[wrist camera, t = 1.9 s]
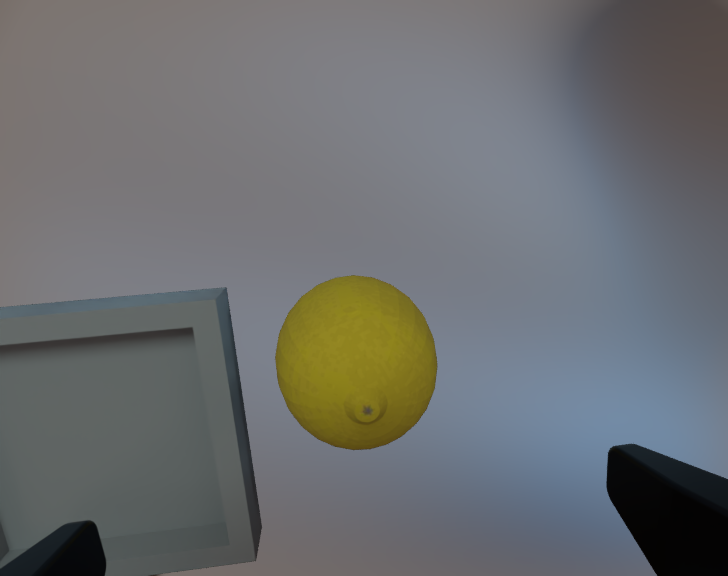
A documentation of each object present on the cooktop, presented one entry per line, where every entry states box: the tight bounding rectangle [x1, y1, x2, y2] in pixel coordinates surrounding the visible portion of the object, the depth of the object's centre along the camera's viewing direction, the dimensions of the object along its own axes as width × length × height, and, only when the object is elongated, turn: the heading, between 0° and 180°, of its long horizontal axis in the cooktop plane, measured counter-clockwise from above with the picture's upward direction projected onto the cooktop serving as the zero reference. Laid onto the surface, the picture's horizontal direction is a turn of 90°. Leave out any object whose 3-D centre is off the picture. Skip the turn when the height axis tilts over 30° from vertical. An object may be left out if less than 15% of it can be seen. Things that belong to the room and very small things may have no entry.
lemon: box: [275, 275, 437, 450], centre depth 16 cm, size 6×6×8 cm
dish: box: [0, 287, 262, 576], centre depth 19 cm, size 12×12×2 cm
